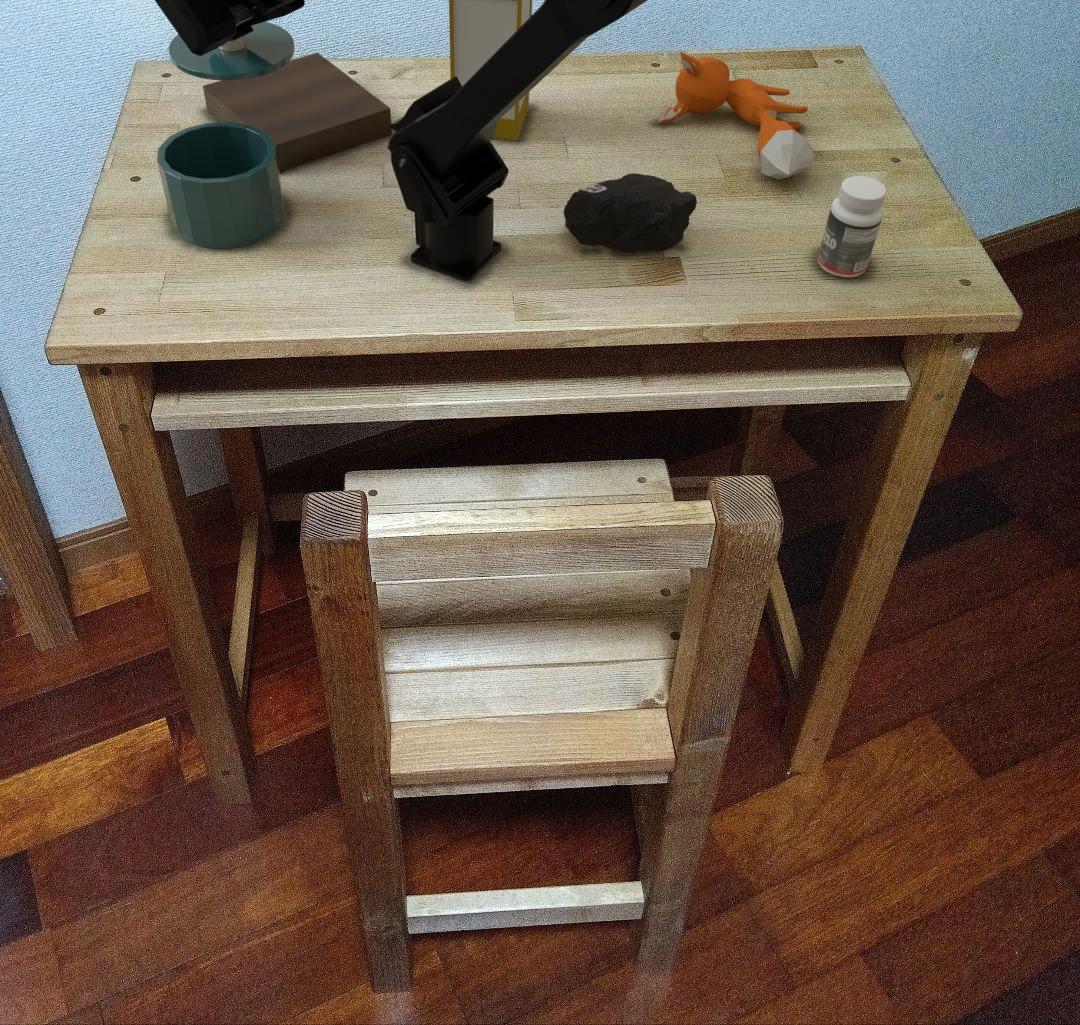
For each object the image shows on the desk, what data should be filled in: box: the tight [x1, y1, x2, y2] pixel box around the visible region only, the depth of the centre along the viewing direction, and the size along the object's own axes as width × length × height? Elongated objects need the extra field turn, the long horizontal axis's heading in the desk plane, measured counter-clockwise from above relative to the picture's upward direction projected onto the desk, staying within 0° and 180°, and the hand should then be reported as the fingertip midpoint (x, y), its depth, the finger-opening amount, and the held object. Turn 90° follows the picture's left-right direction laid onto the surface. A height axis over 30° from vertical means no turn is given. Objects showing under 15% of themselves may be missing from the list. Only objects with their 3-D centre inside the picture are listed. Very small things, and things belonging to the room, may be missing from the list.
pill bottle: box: [817, 175, 887, 278], centre depth 106 cm, size 5×5×8 cm
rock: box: [563, 172, 698, 254], centre depth 108 cm, size 10×9×6 cm
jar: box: [156, 122, 286, 250], centre depth 107 cm, size 11×11×7 cm
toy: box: [657, 51, 815, 180], centre depth 121 cm, size 8×22×15 cm
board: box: [202, 52, 393, 173], centre depth 121 cm, size 15×14×3 cm
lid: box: [168, 21, 296, 81], centre depth 107 cm, size 12×12×5 cm
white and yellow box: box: [448, 0, 533, 141], centre depth 114 cm, size 7×13×24 cm, turn 171°
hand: (219, 30), depth 107 cm, fingers closed on lid, 3 cm apart
